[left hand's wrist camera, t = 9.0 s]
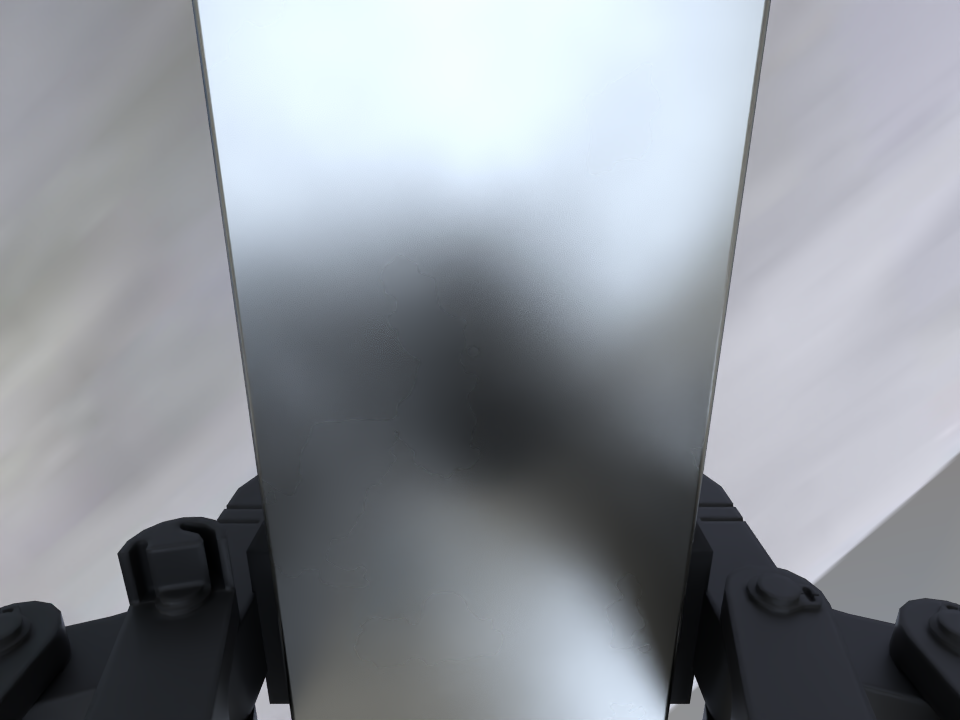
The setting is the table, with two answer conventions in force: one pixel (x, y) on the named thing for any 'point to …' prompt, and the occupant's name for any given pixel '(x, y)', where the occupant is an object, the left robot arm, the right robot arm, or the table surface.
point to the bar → (480, 334)
